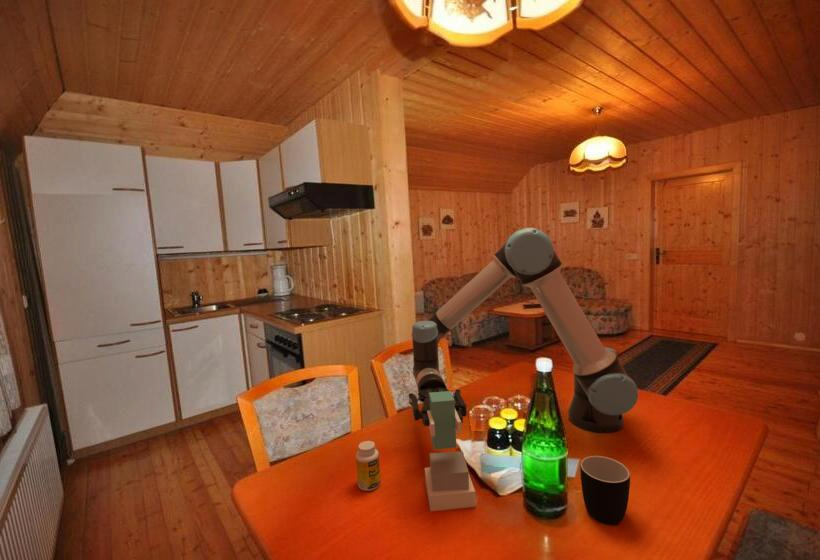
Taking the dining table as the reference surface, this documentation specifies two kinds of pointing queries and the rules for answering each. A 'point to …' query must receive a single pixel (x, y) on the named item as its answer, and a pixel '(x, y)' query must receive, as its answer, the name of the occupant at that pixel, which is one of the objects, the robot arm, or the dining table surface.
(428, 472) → the base brick
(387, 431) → the dining table surface
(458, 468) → the grey brick
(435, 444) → the teal brick
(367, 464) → the supplement bottle
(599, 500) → the mug
